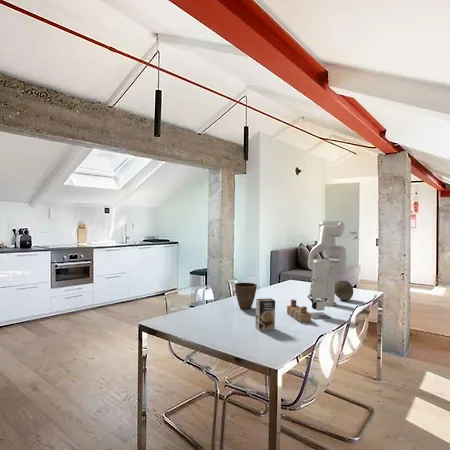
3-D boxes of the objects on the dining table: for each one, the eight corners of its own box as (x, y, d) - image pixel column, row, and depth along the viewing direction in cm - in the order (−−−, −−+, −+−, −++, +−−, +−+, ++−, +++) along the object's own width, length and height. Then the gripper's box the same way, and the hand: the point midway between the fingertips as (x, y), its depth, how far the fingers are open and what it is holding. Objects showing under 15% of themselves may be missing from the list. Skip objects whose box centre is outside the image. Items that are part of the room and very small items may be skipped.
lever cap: (311, 307, 217) (312, 298, 217) (319, 307, 218) (319, 298, 218) (316, 310, 210) (317, 301, 210) (324, 310, 211) (324, 301, 211)
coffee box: (259, 331, 183) (259, 301, 183) (255, 327, 189) (255, 298, 189) (275, 330, 185) (275, 300, 185) (270, 326, 191) (270, 297, 191)
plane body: (286, 313, 219) (287, 299, 219) (297, 313, 220) (297, 299, 220) (299, 322, 199) (299, 307, 199) (310, 322, 201) (310, 307, 201)
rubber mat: (305, 313, 219) (305, 312, 219) (322, 313, 221) (322, 312, 221) (313, 319, 207) (313, 318, 207) (331, 318, 210) (331, 317, 210)
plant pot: (255, 311, 222) (255, 287, 221) (232, 310, 225) (232, 286, 224) (257, 306, 236) (257, 283, 236) (236, 304, 239) (236, 282, 239)
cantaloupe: (350, 298, 265) (350, 279, 265) (355, 302, 251) (355, 282, 251) (331, 297, 267) (332, 278, 267) (335, 302, 253) (336, 281, 253)
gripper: (308, 280, 209) (307, 310, 209) (334, 280, 212) (333, 309, 212) (303, 278, 216) (302, 307, 216) (328, 278, 219) (327, 306, 219)
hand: (318, 308), depth 214 cm, fingers closed on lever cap, 5 cm apart
